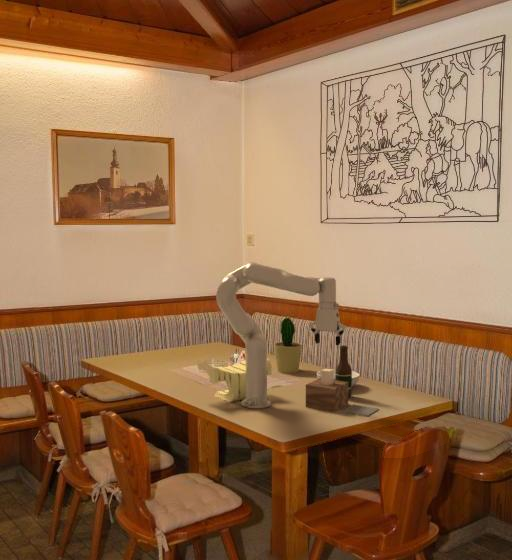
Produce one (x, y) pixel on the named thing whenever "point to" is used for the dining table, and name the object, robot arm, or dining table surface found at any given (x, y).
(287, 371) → the potted cactus
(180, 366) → the dining table surface
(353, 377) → the serving bowl
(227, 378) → the slatted curved stool
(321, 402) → the wooden square ring
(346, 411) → the rubber mat
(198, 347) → the dining table surface
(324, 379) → the square peg
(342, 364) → the beer bottle
